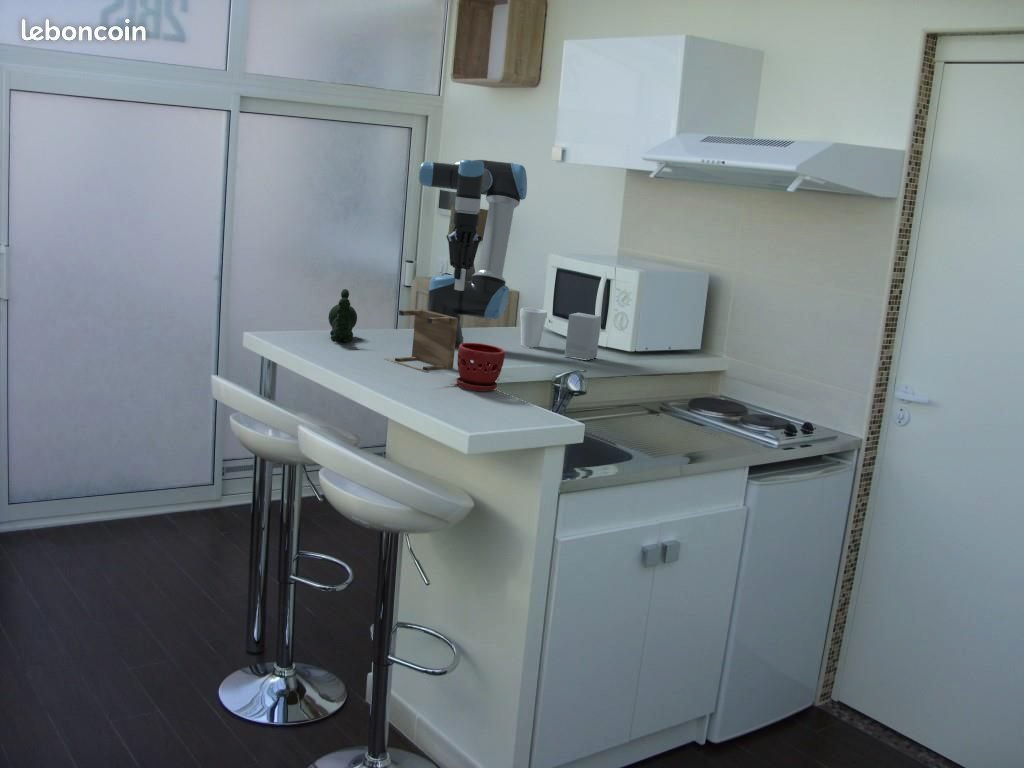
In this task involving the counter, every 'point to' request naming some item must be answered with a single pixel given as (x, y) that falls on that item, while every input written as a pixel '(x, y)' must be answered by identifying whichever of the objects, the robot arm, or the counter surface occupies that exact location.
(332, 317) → the toy figurine
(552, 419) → the counter surface
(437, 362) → the footstool
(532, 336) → the foam cup
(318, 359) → the counter surface
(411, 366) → the oak batten
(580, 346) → the supplement box
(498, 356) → the plant pot
